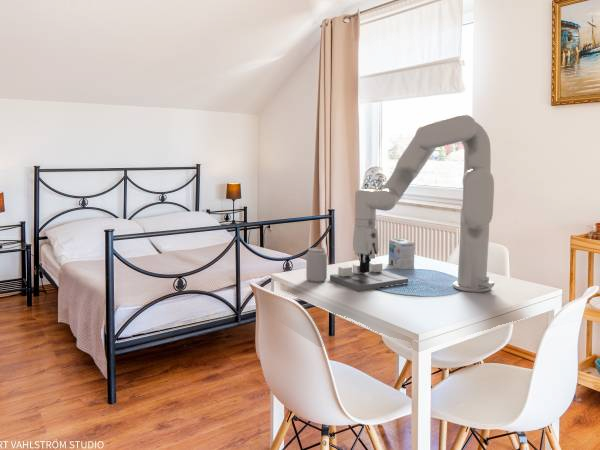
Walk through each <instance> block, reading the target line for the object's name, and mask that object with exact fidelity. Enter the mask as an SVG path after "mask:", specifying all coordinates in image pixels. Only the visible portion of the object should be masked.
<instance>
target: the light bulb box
mask: <svg viewBox="0 0 600 450" xmlns="http://www.w3.org/2000/svg"><path fill="white" fill-rule="evenodd" d="M388 243H389V245H388V265H390V266H392V267H394V268H396V269H399V270H408V269H414V268H415V249H416V248H415V246H416V243H415V241H410V240H407V239H404V238H394V239H393V238H392V239H391V238H390V239H389V241H388Z"/></svg>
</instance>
